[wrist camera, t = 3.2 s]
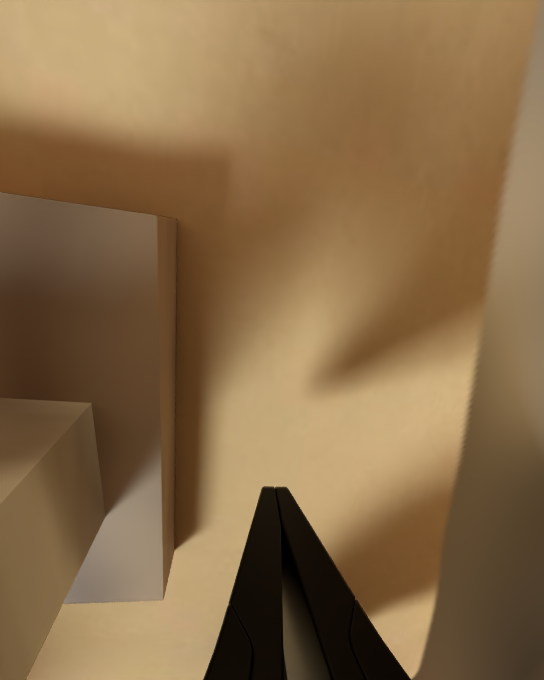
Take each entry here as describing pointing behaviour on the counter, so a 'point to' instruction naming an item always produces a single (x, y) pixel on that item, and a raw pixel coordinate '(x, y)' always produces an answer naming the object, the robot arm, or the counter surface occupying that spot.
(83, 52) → the counter surface
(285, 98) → the counter surface
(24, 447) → the maple block
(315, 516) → the counter surface
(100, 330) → the channel board
